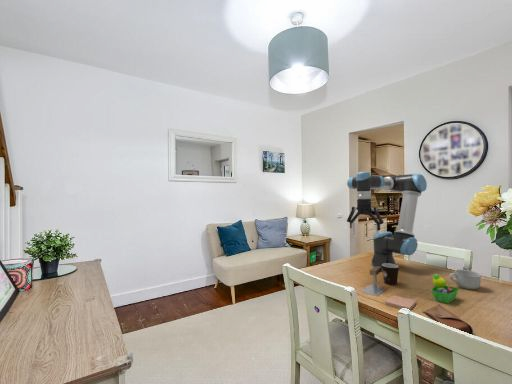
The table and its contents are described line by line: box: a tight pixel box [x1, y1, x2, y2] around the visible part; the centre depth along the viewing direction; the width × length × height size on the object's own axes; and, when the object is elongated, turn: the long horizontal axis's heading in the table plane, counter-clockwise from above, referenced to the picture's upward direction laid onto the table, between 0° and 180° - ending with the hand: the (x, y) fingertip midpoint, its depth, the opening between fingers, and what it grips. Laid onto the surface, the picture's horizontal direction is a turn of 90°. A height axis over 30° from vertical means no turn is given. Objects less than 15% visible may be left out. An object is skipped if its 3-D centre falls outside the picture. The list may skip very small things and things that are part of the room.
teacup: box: [449, 268, 482, 291], centre depth 136 cm, size 14×11×8 cm
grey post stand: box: [360, 266, 386, 297], centre depth 137 cm, size 16×8×11 cm, turn 137°
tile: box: [384, 294, 417, 311], centre depth 119 cm, size 2×10×10 cm
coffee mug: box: [380, 263, 400, 286], centre depth 147 cm, size 12×9×10 cm
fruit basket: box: [430, 273, 459, 304], centre depth 123 cm, size 11×9×11 cm
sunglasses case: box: [422, 303, 474, 335], centre depth 102 cm, size 18×7×7 cm, turn 178°
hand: (364, 235), depth 150 cm, fingers open, 13 cm apart
